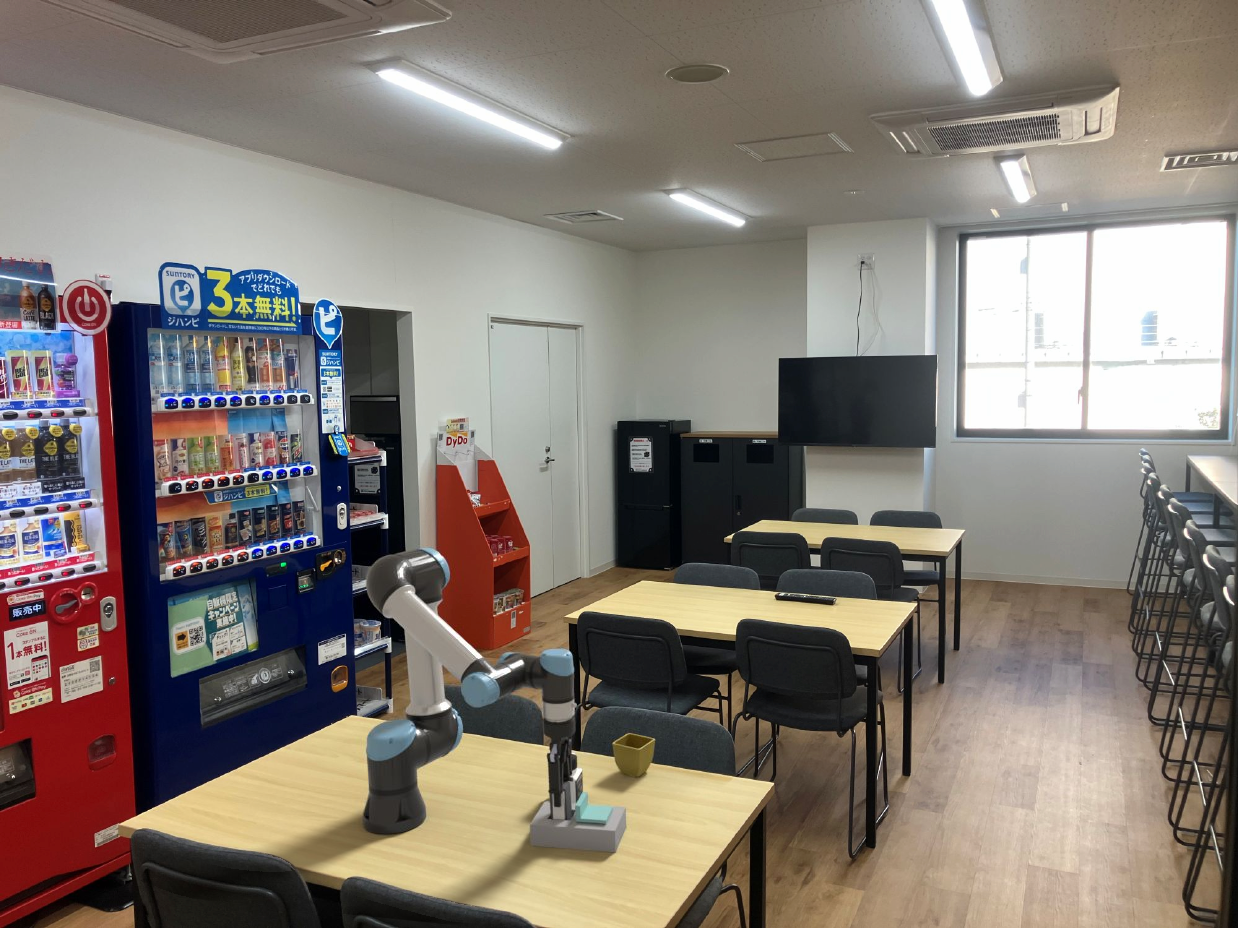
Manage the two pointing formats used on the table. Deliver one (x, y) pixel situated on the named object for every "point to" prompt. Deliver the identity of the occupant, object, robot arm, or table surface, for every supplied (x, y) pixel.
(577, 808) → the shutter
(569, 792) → the plug
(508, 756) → the table surface
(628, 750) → the flower pot
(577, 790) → the medicine bottle
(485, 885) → the table surface
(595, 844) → the socket
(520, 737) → the table surface
